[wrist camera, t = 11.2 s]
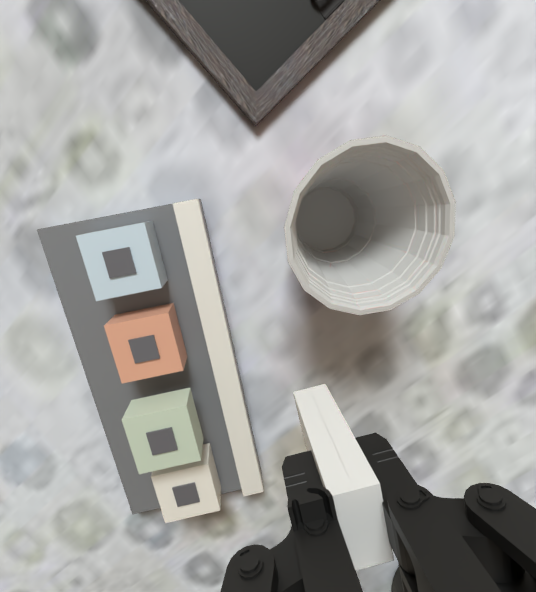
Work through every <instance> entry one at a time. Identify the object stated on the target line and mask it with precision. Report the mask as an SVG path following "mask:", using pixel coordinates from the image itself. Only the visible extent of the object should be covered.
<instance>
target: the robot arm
mask: <svg viewBox="0 0 536 592" xmlns="http://www.w3.org/2000/svg"><path fill="white" fill-rule="evenodd" d="M293 393H294V398H295V402H296V407H297V411H298V415H299V420H300V424H301V428H302V433H303V437H304V442H305V446H306V449H307V452H303V453H299V454H295V455H291V456H287V457H285V460H284V463H283V466H282V470H283V475H284V480H285V486H286V491H287V496H288V512H289V516H290V520H291V524H292V527H291V530H290V532H289V534H288V536H287V537H286V538H285V539H284V540H283V541H282V542H281V543H279V544H278V545H277V546H275V547H273V548H272V549H270V550H269V549H268V548H266V547H264V546H262V545H250V546H246V547H244V548H243V549H241V550H239V551H238V552H237V553H236V554H235V555H234V556H233V557H232V558H231V560H230V562H229V564H228V566H227V569H226V573H225V577H224V581H223V585H222V588H221V592H363V591H362V588H361V585H360V582H359V579H358V576H357V574H356V570H360V569H364V568H367V567H371V566H375V565H379V564H382V563H386V562H390V561H393V560H394V558H393V552H392V549H393V551H394V553H395V556H396V558H397V560H398V563H399V568H398V570H397V572H396V574H395V577H394V580H393V584H392V592H536V509H535V508H534V507H532V506H531V505H529V504H528V503H526V502H525V501H524V500H522V499H521V498H519V497H518V496H516V495H515V494H513V493H512V492H510V491H509V490H507V489H505V488H503V487H501V486H499V485H495V484H490V483H479V484H475V485H472V486H470V487H469V488H468V489H467V490H466V492H465V495H464V499H460V498H440V497H436V496H433V495H432V494H431V493H430V492H429V491H428V490H427V489H426V488H424V487H421V486H419V485H417V483H416V482H415V480H414V479H413V478H412V476H411V475H410V473H409V472H408V470H407V469H406V467H405V466H404V464H403V463H402V461H401V460H400V459H399V457H398V456H397V454H396V453H395V451H394V450H393V449H392V447H391V445H390V444H389V442H388V441H387V440H386V439H385V438H383V437H382V436H380V435H379V434H377V433H373V434H369V435H365V436H361V437H357V438H355V437H354V435H353V433H352V432H351V430H350V428H349V426H348V424H347V422H346V421H345V419H344V417H343V415H342V413H341V411H340V410H339V408H338V406H337V404H336V402H335V401H334V399H333V397H332V395H331V393H330V391H329V390H328V388H327V386H326V384H323V385H319V386H315V387H311V388H307V389H303V390H299V391H295V392H293Z"/></svg>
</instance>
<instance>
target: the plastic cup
mask: <svg viewBox="0 0 536 592" xmlns="http://www.w3.org/2000/svg"><path fill="white" fill-rule="evenodd" d="M455 204H456V202H455V199H454V196H453V194H452V191H451V188H450V186H449V183H448V180H447V178H446V175H445V172H444V170H443V169H442V168H441V167H440V166H439V165H438V164H437V163H436V162H435V161H434V160H433V159H432V158H431V157H430V156H429V155H428V154H427V153H426V152H425V151H424V150H423V149H422V148H421V147H420V146H417V145H414V144H411V143H408V142H405V141H402V140H399V139H396V138H393V137H390V136H379V137H371V138H364V139H356V140H350V141H348V142H347V143H345V144H343V145H342V146H340V147H338V148H337V149H335V150H333V151H332V152H330V153H328V154H327V155H325V156H323V157H322V158H320V159H318V160H317V161H316V163H315V164H314V165H313V167H312V168H311V169H310V171H309V172H308V173H307V175H306V176H305V177H304V179H303V180H302V181H301V182H300V184H299V185H298V186H297V188H296V189H295V190H294V193H293V197H292V200H291V204H290V208H289V211H288V215H287V218H286V222H285V225H284V231H285V240H286V249H287V258H288V263H289V265H290V266H291V268H292V270H293V272H294V273H295V275H296V277H297V279H298V280H299V282H300V284H301V286H302V287H303V289H304V290H305V291H306V292H307V293H309V294H310V295H311V296H313V297H314V298H315V299H317V300H318V301H320V302H321V303H322V304H324V305H325V306H326V307H328V308H329V309H333V310H338V311H342V312H347V313H351V314H356V315H364V314H370V313H376V312H382V311H388V310H392V309H393V308H395V307H397V306H399V305H400V304H402V303H404V302H406V301H407V300H409V299H411V298H413V297H414V296H416V295H418V294H419V293H420V292H421V291H422V290H423V289H424V288H425V286H426V285H427V284H428V283H429V282H430V281H431V280H432V278H433V277H434V276H435V275H436V274H437V273H438V272H439V270H440V269H441V268H442V266H443V263H444V261H445V258H446V256H447V253H448V251H449V248H450V246H451V243H452V241H453V239H454V234H455Z"/></svg>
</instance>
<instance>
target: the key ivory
mask: <svg viewBox="0 0 536 592" xmlns="http://www.w3.org/2000/svg"><path fill="white" fill-rule="evenodd" d="M151 479H152V482H153V485H154V488H155V492H156V495H157V498H158V501H159V504H160V508H161V511H162V514H163V517H164V520H165V523H168V522H173V521H177V520H181V519H186V518H190V517H194V516H199V515H203V514H207V513H211V512H216V511H220V504H221V484H220V481H219V477H218V473H217V469H216V465H215V461H214V457H213V453H212V450H211V446H210V443H207V444H203V447H202V456H201V461H197V462H192V463H188V464H183V465H179V466H174V467H170V468H165V469H161V470H157V471H152V475H151Z"/></svg>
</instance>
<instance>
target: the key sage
mask: <svg viewBox="0 0 536 592" xmlns="http://www.w3.org/2000/svg"><path fill="white" fill-rule="evenodd" d="M122 423H123V426H124V429H125V432H126V435H127V438H128V442H129V445H130V448H131V451H132V454H133V457H134V460H135V463H136V466H137V470H138V473H139V474H143V473H148V472H152V471H157V470H161V469H165V468H170V467H174V466H179V465H183V464H188V463H192V462H197V461H201V456H202V447H203V434H202V430H201V427H200V423H199V419H198V415H197V411H196V408H195V404H194V400H193V396H192V392H191V388H186V389H181V390H176V391H172V392H167V393H162V394H158V395H153V396H148V397H144V398H139V399H134V400H131V402H130V404H129V406H128V408H127V410H126V412H125V414H124V416H123V418H122Z"/></svg>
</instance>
